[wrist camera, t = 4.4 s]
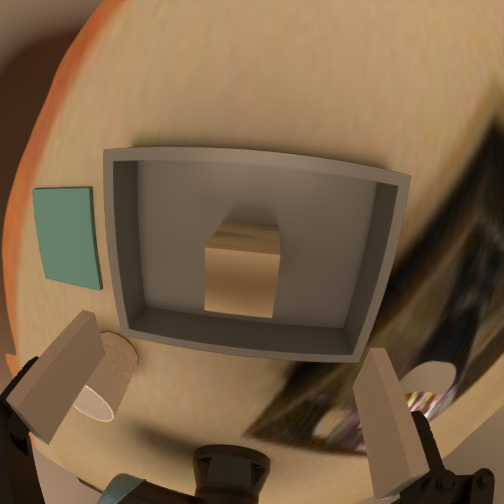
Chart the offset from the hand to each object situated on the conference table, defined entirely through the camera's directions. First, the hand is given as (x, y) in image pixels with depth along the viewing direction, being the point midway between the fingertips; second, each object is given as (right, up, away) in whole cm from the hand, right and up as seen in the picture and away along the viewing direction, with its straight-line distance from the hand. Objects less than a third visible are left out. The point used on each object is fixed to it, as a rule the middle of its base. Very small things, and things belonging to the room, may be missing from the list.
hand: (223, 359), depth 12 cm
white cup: (-17, -9, +21) cm, 29 cm away
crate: (+1, +5, +14) cm, 15 cm away
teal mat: (-21, +7, +16) cm, 27 cm away
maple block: (+1, +5, +14) cm, 15 cm away
